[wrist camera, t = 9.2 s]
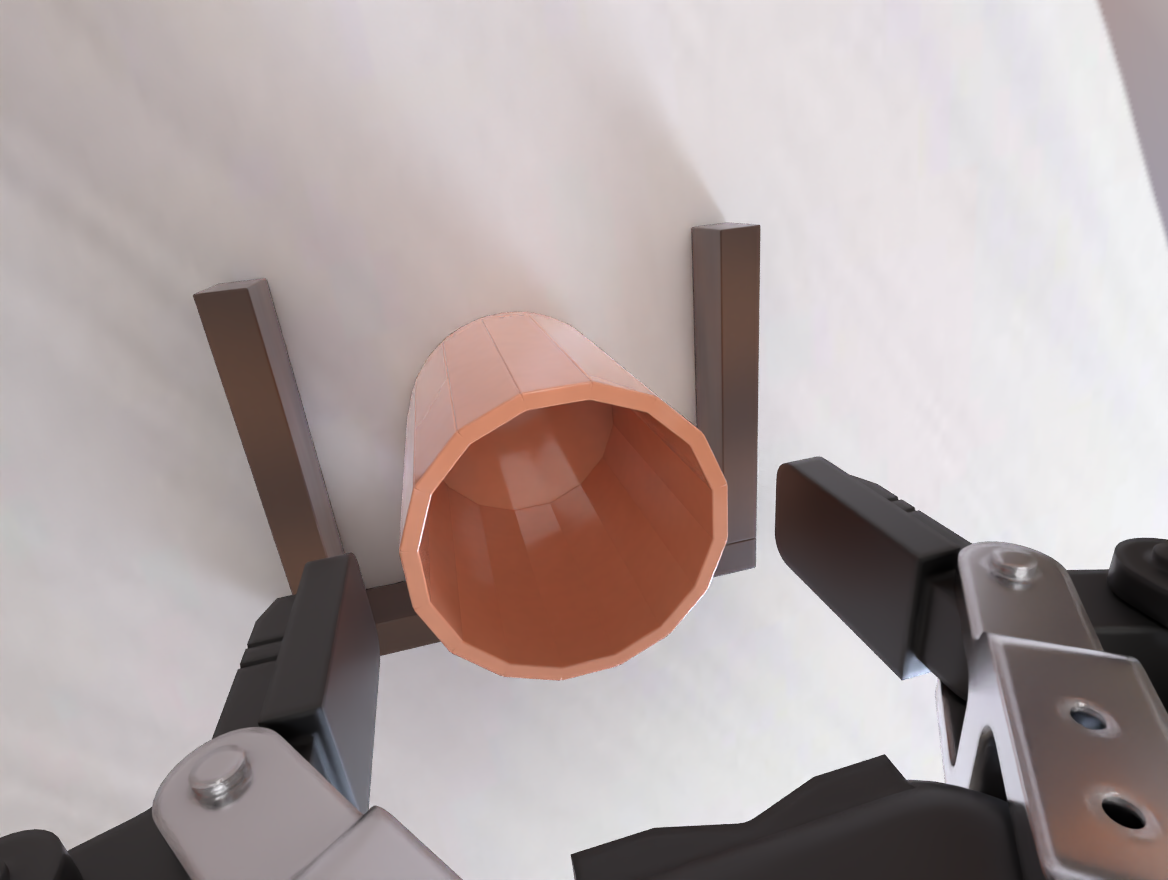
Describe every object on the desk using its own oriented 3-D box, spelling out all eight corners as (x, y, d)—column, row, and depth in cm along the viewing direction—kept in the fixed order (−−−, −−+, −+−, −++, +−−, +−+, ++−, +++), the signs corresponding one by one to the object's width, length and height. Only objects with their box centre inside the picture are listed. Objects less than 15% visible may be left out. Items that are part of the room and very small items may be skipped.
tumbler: (388, 328, 17) (365, 418, 10) (608, 297, 19) (727, 358, 11) (431, 527, 20) (438, 713, 13) (623, 488, 21) (729, 638, 14)
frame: (217, 283, 16) (192, 294, 14) (728, 222, 19) (761, 224, 17) (326, 629, 20) (317, 671, 19) (729, 538, 23) (756, 568, 21)
